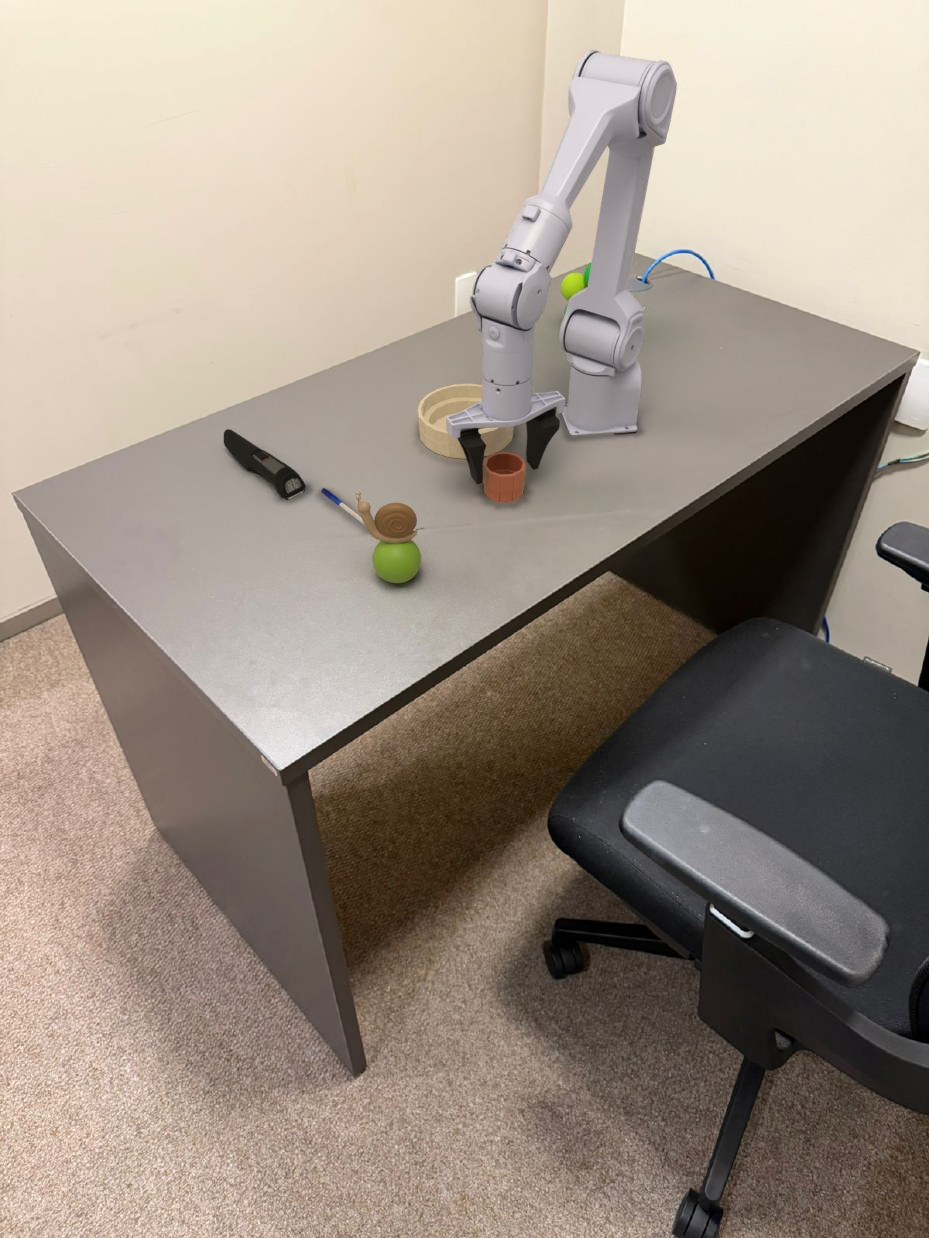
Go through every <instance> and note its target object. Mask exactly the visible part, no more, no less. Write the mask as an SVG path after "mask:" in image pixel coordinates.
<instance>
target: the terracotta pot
mask: <svg viewBox="0 0 929 1238" xmlns="http://www.w3.org/2000/svg"><path fill="white" fill-rule="evenodd" d="M526 476H527V461H526V460H525V459H524V458H523V456H521V455H520V454H518V453H514V452H511V451H498V452H496V453H494V454H492V455H488V456H485V458H484V459H483V481H482V484H483V493H484V494H485V495H486V497H487V498H488V499H489V500H492V501H494V502H496V503H502V504H503V503H512V502H515V501H517V500H519V499H521V498H522V497H523V494H524V491H525V482H526V479H527V477H526Z"/></svg>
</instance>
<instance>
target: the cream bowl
mask: <svg viewBox="0 0 929 1238" xmlns="http://www.w3.org/2000/svg"><path fill="white" fill-rule="evenodd" d="M481 401H482V384H477V383H457V384H451V385H446V386H442V387H439V388H437V389H435V390H433V391H430V392H428V393H427V394H426V395H425V396H424V397H423V398H421V400H420V402H419V404H418V406H417V421H418V435H419V440H420V441H421V443H423V445H424V446H425V448H427V449H428V450H430V451H432V452H433V453H435V454H437V455H440V456H444V457H447V458H451V459H452V458H453V459H462V460H467V459H466V456H465V453H464V451H463V449H462V447H461V445H460V443H459V441H458V439H457V438H455V439H452V438H451V437H450V435H449V434H448V432H447V431H446V417H447V416H451V415H454V414H457V413H459V412H461V411H463V410H465V409H467V408H469V407H471V406H473V405H475V404H477V403H479V402H481ZM479 433H480V434H481V439H482V440H483V441H484V443H485V444H486V448H485V452H484V457H485V458H486V457H488V456H490V455H492V454H494V453H496V452H501V451H503V450H504V449H506V448H507V446H508V445H509V444H510V443H511V442H512V441H513V437H514V434H515V426H514V427H496V428H483V429H479ZM484 457H483V458H484Z"/></svg>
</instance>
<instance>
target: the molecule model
mask: <svg viewBox="0 0 929 1238" xmlns="http://www.w3.org/2000/svg"><path fill="white" fill-rule="evenodd" d="M591 263H592V261H591V262H590V263H589V264H588V265H587V266H586V267H585V270H584V273H583V274H582V273H580V272H571V273H569V274H567V275H566V276H565V277H564V278H563V279H562V281H561V284H560V292H561V295H562V297H563V298H564V299H565V300H566V301H567V302H568V301H569V299H570V298H571V297H572V296H573V295H574V294H576V293H577V292H579V291H581V290H583V289H585V288H587V287H588V281H589V275H590V269H591ZM567 306H568V303H567V304H566V306H565V307H564V311H563V317H564V316H565V313H566V310H567Z"/></svg>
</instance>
